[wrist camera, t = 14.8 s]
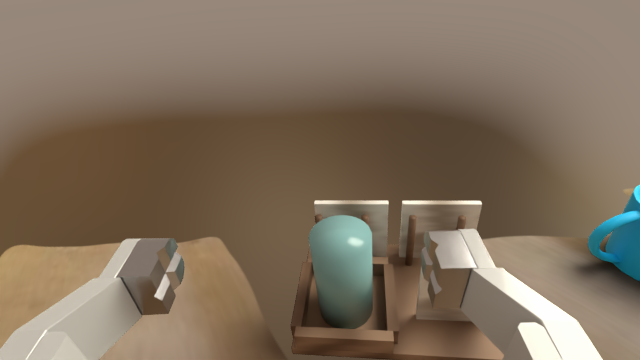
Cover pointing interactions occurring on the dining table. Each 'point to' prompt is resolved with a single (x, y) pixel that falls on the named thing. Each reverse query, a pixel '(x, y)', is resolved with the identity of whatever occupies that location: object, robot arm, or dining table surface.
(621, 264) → the mug
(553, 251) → the dining table surface
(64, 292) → the dining table surface
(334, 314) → the teal glossy cylinder
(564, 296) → the dining table surface
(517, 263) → the dining table surface
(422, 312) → the rack
